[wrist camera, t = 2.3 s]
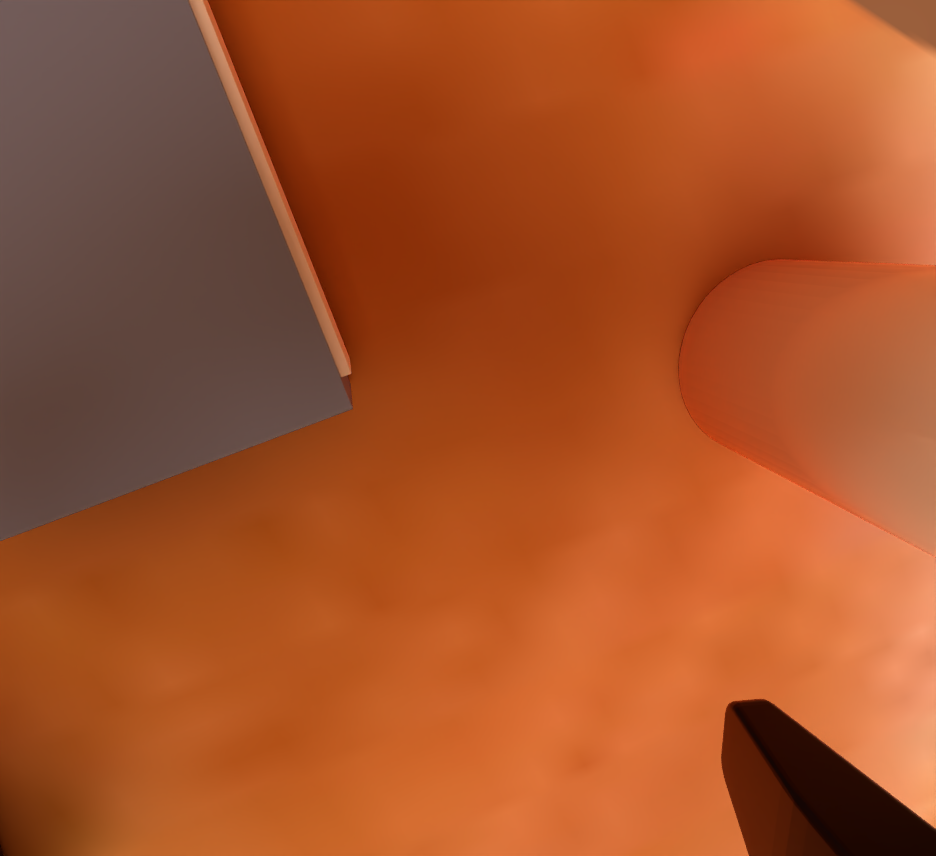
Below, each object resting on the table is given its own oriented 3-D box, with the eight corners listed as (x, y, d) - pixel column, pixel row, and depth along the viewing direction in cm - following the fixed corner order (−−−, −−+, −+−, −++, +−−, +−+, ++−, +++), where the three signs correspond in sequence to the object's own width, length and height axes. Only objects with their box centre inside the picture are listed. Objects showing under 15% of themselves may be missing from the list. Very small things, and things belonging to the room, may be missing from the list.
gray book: (359, 380, 19) (363, 404, 16) (-17, 520, 18) (-84, 572, 15) (109, -250, 15) (53, -370, 12) (-399, -105, 14) (-592, -196, 11)
